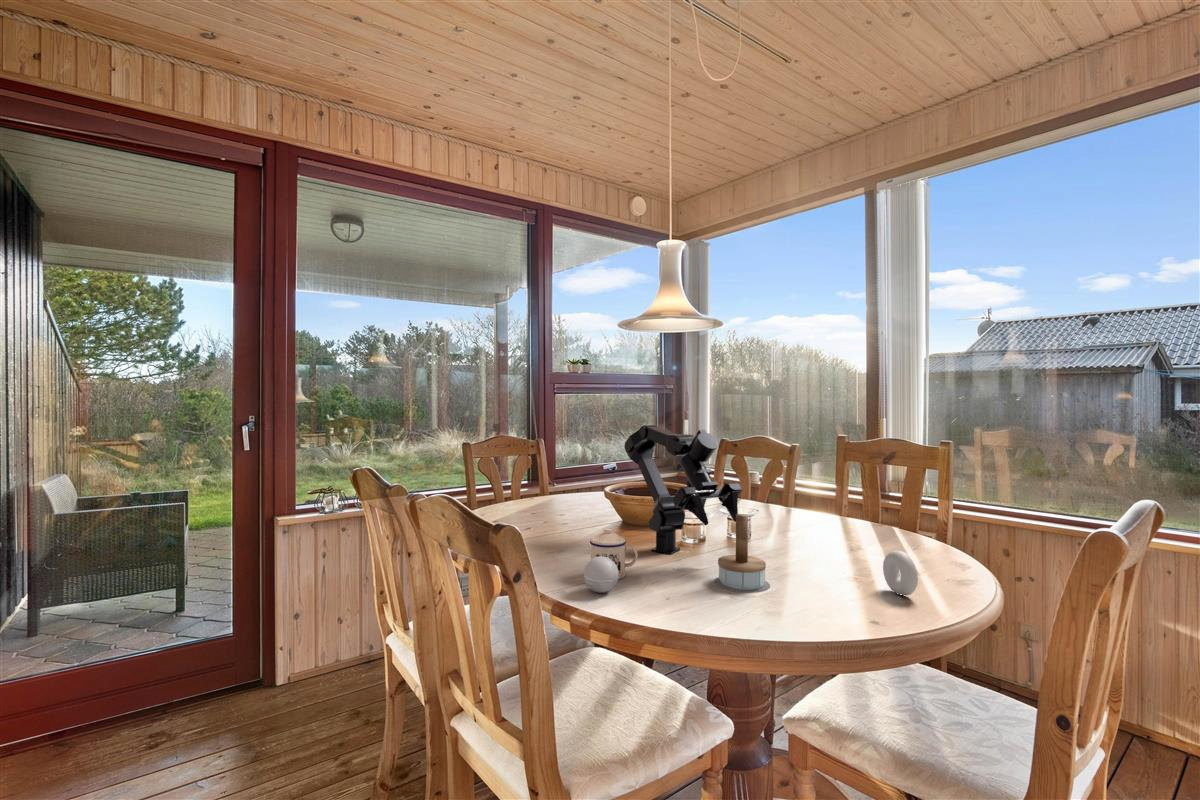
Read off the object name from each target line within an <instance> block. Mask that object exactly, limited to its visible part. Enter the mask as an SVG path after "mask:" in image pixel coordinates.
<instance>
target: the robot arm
mask: <svg viewBox="0 0 1200 800" xmlns="http://www.w3.org/2000/svg"><path fill="white" fill-rule="evenodd" d="M657 444H658V445H661V446H663V447H664V448H666V449H665V450H666V452H668V453H669V454H670V455H671V456H673V457H678V456H680V457H681V456H682V457H681V458H680V459H678V463H677V466H676V469H677V470H683V472H684V474H685V476H686V478H687V481H686V486H680V487H679V489H678V490H677V492H676V493H675V494H674V495H673V496H672V495H670V492H669V491H668V488H667V486H666V484H665V481H664V479H663V477H662V476H661V473H660V472H659V469H658V467H657V465H656V462H655V461H654V457H653V455H654V451H655V449H654V448H655V446H656V445H657ZM623 445H624V450H625V452H626V455H627V456H628V458H629V459H630V460H631V461H632V462H634V463H635V464H636V465H637V466H638V468H639V470H640V472H641V474H642V477H643V480H644V482H645V483H646V486H647V488H648V490H649V493H650V495H651V497H652V499H653V502H654V503H653V508H652V513H653V514H652V516H651V518H650V519H649V521H648V527H649V529H650V530H652V531H654V532H655V546H654V547H653V548H651V549H650V550H651V552H656V553H662V554H669V555H672V554H674V553H677V552H679V551H680V550H681V547H677V545H676V543H677V542H676V541H677V537H676V536H677V534H676V531H677V530H680V531H681V530H683V527H684V524H685V519H686V512H685V510H686V511H688V512H690V513H692V514H693V515H694V516H695V517H697V519H699V521H700V522H701V523H703V525H704V526H708V525H709V519H708V516H707V514H706V509H705V504H706V501H707V499H717V498H718V500H719V502H720V503H721V504H720V505H721V506H722V507H725V508H726V509H727V512H728V513H729V515H730V516H731V517H730V518H732V520H733V522H735V523H736V515H737V514H739V509H738V506H739V505H738V502H739V501H738V500H739V499H738V498H739V495H740V494H742V492H743V491H744V490H743V489H742V487H741V484H740V483H737V482H729V483H728V482H727V483H725V484H724V485H723V486H722V488H721V489H717V487H718V486H719V483H718V481H714V480H713V478H712V476H711V474H712V470H711V468H707V467H706V465H705V463H706V462H707V461H709V460H710V459H711V457H712V456H713V454H714V453H715V451H716V449H717V448H718V446H719V440H718V438H717V437H715V436H714V435H713V434H711V433H709V432H707V431H706V429H698V430H697V432H696V434H695V435H693V434H687V433H685V434H681V433H680V434H679V433H674V432H672V431H669V430H666V429H664V428H661V427H658V425H655V424H647V425H646V424H643V425H642V426H640V428H639V429H638V430H637V431H635V432H633V433H632V434H630V435H629V437H627V439H626V440H625V442H624V444H623Z"/></svg>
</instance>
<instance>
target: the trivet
mask: <svg viewBox="0 0 1200 800" xmlns="http://www.w3.org/2000/svg"><path fill="white" fill-rule="evenodd" d="M713 582H714V585H715V586H717V587H719V589H723V590H726V591H730V592H735V593H742V594H743V593H745V594H749V593H750V594H752V593H753V594H754V593H755V594H756V593H762V592H766V591H768V590H769V589H770V588H771V584H770V583H769V582H768V581H767V580H765V582H764V586H763V587H762V588H760V589H757V590H737V589H732V588H728V587H726V586H724V585H722V584H721V582H720V579H719V576H718V577H716V578H715V579H714V581H713Z"/></svg>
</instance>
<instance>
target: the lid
mask: <svg viewBox="0 0 1200 800" xmlns="http://www.w3.org/2000/svg"><path fill="white" fill-rule="evenodd" d="M748 544H749V515H748V514H744V513H738V514H737V515H736V522H735V554H731V555H730V554H729V555H724V556H721V557H718V560H717V565H718V567H719V566H720V567H721V568H723V569H726V570H729V571H734V572H743V573H753V572H760V571H763V570H765V571H766V565H767V563H766V561H765V560H764V559H762V558H759V557H755V556H751V555H749V552H748V551H749V549H748V548H749V547H748Z"/></svg>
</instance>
